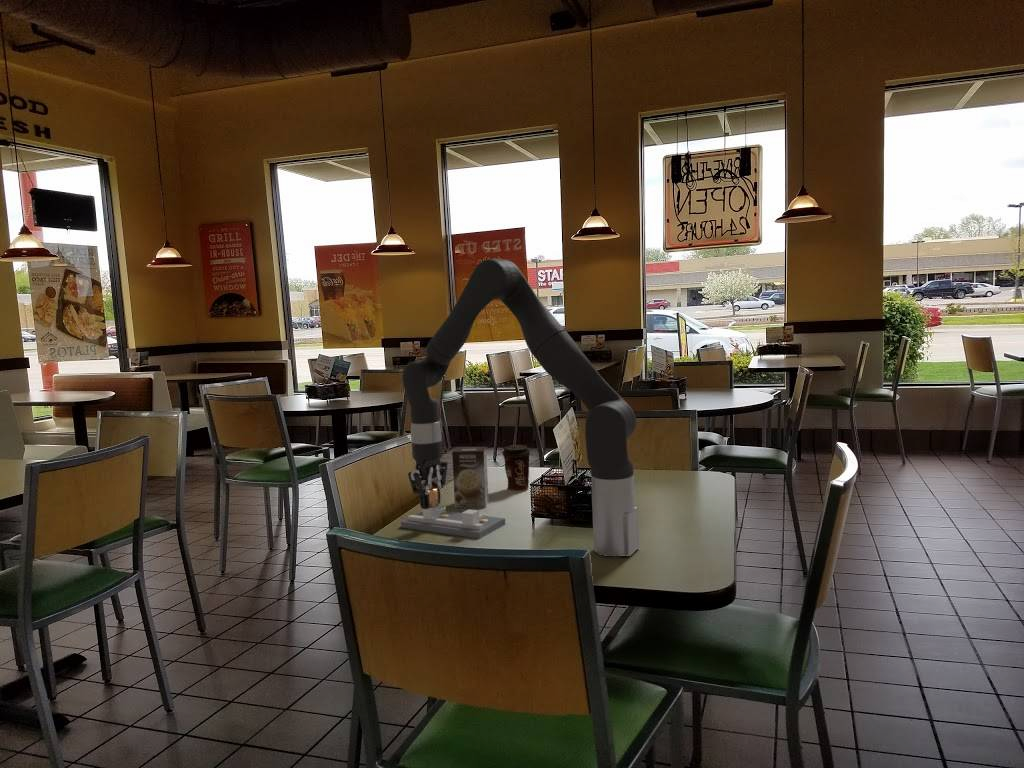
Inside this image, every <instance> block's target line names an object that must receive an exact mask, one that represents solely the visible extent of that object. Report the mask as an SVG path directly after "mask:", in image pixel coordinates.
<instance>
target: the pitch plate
mask: <svg viewBox="0 0 1024 768" xmlns="http://www.w3.org/2000/svg"><path fill="white" fill-rule="evenodd" d="M479 511H480V510H475V509H467V510H465V511H463V512H457V511H449V510H446V513H441V514H440V516H439V517H437V518H435V519H433V520H432V519H425V518H423V511H421V512H419V513H417V514H411V515H408V516H407V518H406V519H404V520H401V521H400V527H401V528H404V529H409V530H411V529H412V530H417V531H423V532H425V531H426V532H431V533H438V534H445V533H446V535H452V534H453V536H458V537H459V536H460V537H467V538H474V539H481V538H484V537H486V536H487V535H488V534H490V533H492V532H494V531H496V530H498V529H499V528H501V527H503V526H505V525H506V518H505V517H496V516H488V515H486V514H485V513H484V512H483V513H480V512H479Z"/></svg>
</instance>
